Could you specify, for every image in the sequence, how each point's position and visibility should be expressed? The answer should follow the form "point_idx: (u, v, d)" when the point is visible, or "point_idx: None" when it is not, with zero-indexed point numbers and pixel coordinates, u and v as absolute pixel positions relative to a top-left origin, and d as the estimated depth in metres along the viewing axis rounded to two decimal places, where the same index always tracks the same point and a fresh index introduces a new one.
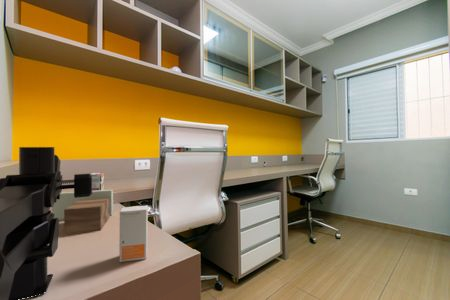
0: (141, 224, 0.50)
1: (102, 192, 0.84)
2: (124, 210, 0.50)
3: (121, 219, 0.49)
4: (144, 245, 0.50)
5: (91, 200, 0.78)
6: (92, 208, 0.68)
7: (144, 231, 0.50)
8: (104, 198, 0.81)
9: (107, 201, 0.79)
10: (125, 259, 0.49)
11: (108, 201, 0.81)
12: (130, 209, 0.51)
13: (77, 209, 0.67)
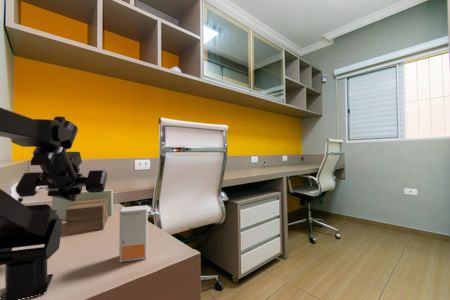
0: (141, 224, 0.50)
1: (102, 192, 0.84)
2: (124, 210, 0.50)
3: (121, 219, 0.49)
4: (144, 245, 0.50)
5: (90, 200, 0.78)
6: (94, 208, 0.69)
7: (144, 231, 0.50)
8: (103, 198, 0.81)
9: (106, 201, 0.79)
10: (125, 259, 0.49)
11: (107, 201, 0.81)
12: (130, 209, 0.51)
13: (79, 209, 0.67)
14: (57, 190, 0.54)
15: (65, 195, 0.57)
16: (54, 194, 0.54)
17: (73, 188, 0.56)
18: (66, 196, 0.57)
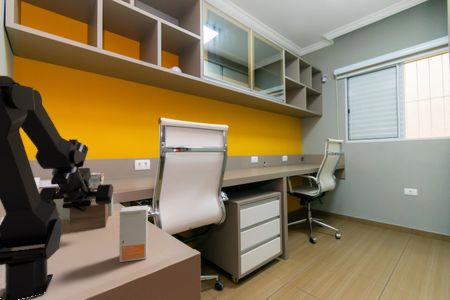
0: (141, 224, 0.50)
1: None
2: (124, 210, 0.50)
3: (121, 219, 0.49)
4: (144, 245, 0.50)
5: None
6: (97, 205, 0.71)
7: (144, 231, 0.50)
8: None
9: None
10: (125, 259, 0.49)
11: None
12: (130, 209, 0.51)
13: None
14: (70, 203, 0.62)
15: (77, 206, 0.65)
16: (68, 206, 0.62)
17: (84, 201, 0.64)
18: (78, 207, 0.65)
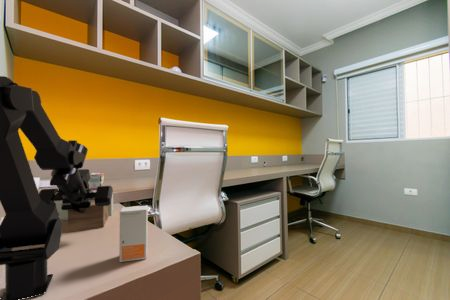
0: (141, 224, 0.50)
1: None
2: (124, 210, 0.50)
3: (121, 219, 0.49)
4: (144, 245, 0.50)
5: None
6: (95, 206, 0.71)
7: (144, 231, 0.50)
8: None
9: None
10: (125, 259, 0.49)
11: None
12: (130, 209, 0.51)
13: None
14: (69, 204, 0.62)
15: (76, 208, 0.64)
16: (67, 208, 0.62)
17: (83, 202, 0.63)
18: (77, 209, 0.65)
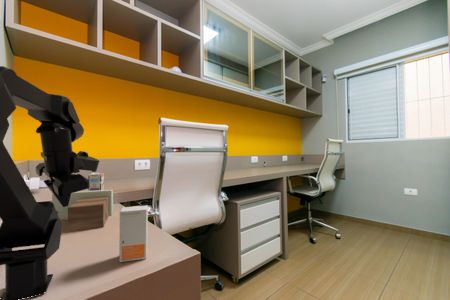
0: (141, 224, 0.50)
1: (102, 192, 0.84)
2: (124, 210, 0.50)
3: (121, 219, 0.49)
4: (144, 245, 0.50)
5: (91, 199, 0.80)
6: (95, 206, 0.71)
7: (144, 231, 0.50)
8: (103, 197, 0.84)
9: (107, 199, 0.82)
10: (125, 259, 0.49)
11: (108, 199, 0.83)
12: (130, 209, 0.51)
13: (80, 207, 0.70)
14: (49, 179, 0.53)
15: None
16: (46, 182, 0.53)
17: None
18: None
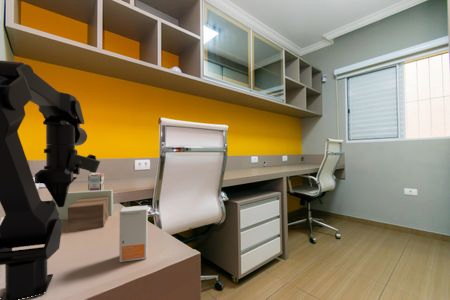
0: (141, 224, 0.50)
1: (102, 192, 0.84)
2: (124, 210, 0.50)
3: (121, 219, 0.49)
4: (144, 245, 0.50)
5: (91, 199, 0.80)
6: (95, 206, 0.71)
7: (144, 231, 0.50)
8: (103, 197, 0.84)
9: (107, 199, 0.82)
10: (125, 259, 0.49)
11: (108, 199, 0.83)
12: (130, 209, 0.51)
13: (80, 207, 0.70)
14: None
15: None
16: None
17: None
18: None
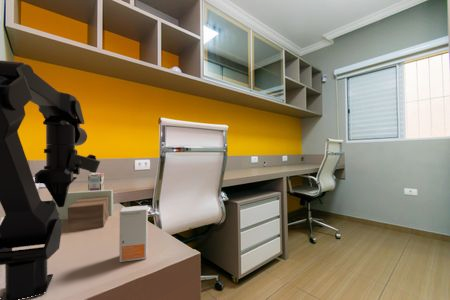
0: (141, 224, 0.50)
1: (102, 192, 0.84)
2: (124, 210, 0.50)
3: (121, 219, 0.49)
4: (144, 245, 0.50)
5: (91, 199, 0.80)
6: (95, 206, 0.71)
7: (144, 231, 0.50)
8: (103, 197, 0.84)
9: (107, 199, 0.82)
10: (125, 259, 0.49)
11: (108, 199, 0.83)
12: (130, 209, 0.51)
13: (80, 207, 0.70)
14: None
15: None
16: None
17: None
18: None
